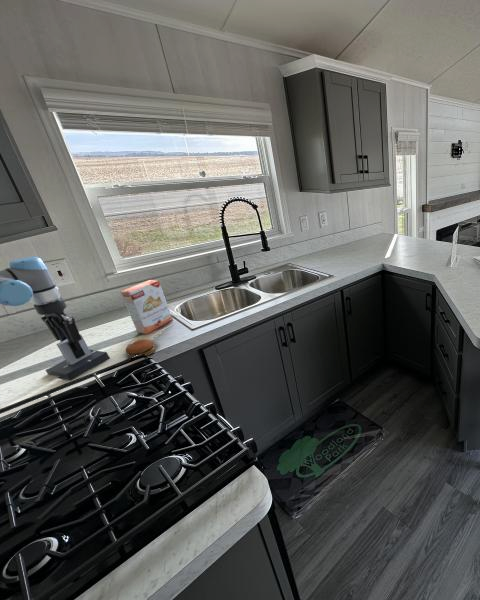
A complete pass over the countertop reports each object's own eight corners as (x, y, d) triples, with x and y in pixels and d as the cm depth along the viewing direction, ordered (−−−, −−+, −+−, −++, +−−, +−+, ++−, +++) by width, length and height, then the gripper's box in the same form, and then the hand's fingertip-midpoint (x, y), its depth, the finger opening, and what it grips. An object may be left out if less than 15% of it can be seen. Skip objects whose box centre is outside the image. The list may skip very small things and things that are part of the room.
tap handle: (71, 364, 122) (59, 344, 118) (67, 364, 123) (55, 343, 119) (91, 354, 128) (81, 334, 124) (88, 353, 129) (77, 333, 125)
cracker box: (147, 334, 146) (129, 292, 137) (137, 333, 148) (118, 291, 139) (174, 319, 159) (159, 280, 150) (164, 318, 160) (148, 279, 151)
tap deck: (70, 380, 118) (66, 373, 117) (49, 376, 121) (44, 369, 120) (110, 358, 130) (107, 351, 129) (89, 355, 133) (86, 348, 132)
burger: (158, 352, 133) (154, 342, 131) (130, 362, 127) (125, 352, 125) (154, 343, 140) (150, 334, 138) (127, 352, 134) (122, 343, 132)
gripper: (75, 297, 116) (103, 353, 126) (45, 294, 120) (75, 348, 130) (49, 307, 109) (81, 364, 120) (19, 303, 113) (53, 359, 123)
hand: (78, 356), depth 125 cm, fingers closed on tap handle, 2 cm apart
